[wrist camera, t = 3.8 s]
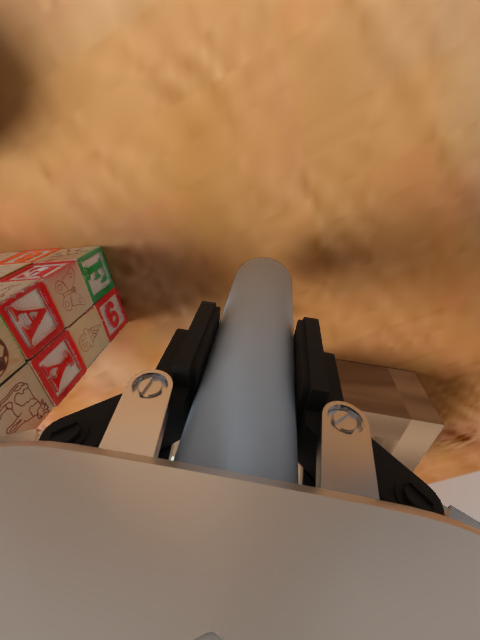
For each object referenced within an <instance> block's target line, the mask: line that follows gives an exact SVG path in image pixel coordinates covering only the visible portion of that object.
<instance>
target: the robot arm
mask: <svg viewBox="0 0 480 640" xmlns="http://www.w3.org/2000/svg"><path fill="white" fill-rule="evenodd" d="M219 320H220V307H216V303H213V302H206V301H202V302H201V304H200V307H199V309H198V311H197V313H196V315H195V317H194V319H193V321H192V323H191V326H190V328H189V330H185V329H177V330H176V332H175V334H174V336H173V337H172V339H171V341H170V343H169V345H168V347H167V349H166V351H165V352H164V354H163V356H162V358H161V360H160V362H159V364H158V366H157V368H156V369H154V370H145V371H141V372H139V373H137V374H135V375H134V376H133V377H131V378H130V380H129V381H128V383H127V385H126V387H125V390H124V392H123V393H122V394H120V395H117V396H115V397H112V398H110V399H107V400H105V401H102V402H100V403H97V404H95V405H92V406H90V407H87V408H85V409H83V410H80V411H78V412H75V413H73V414H70V415H68V416H65V417H63V418H60V419H59V420H57V421H55V422H53V423H52V424H50V425H49V426H48V427H47V428H46V429H45V430H44V431H40V432H38V431H37V428H36V429H31V430H27V431H22V432H18V433H13V434H8V435H4V436H0V640H480V523H479V522H478V521H476V520H474V519H473V518H471V517H470V516H468V515H466V514H465V513H463V512H461V511H460V510H458V509H456V508H455V507H453V506H451V505H450V506H449V507H448V508H447V507H445V506H444V505H442V503H441V501H440V499H439V498H438V496H437V495H436V493H435V492H434V491H433V490H432V489H431V488H430V487H429V486H428V485H427V484H426V483H425V482H423V481H422V480H421V479H420V478H419V477H417V476H416V475H415V474H414V473H413V472H412V471H410V470H409V469H408V468H407V467H406V466H404V465H403V464H402V463H401V462H400V461H398V460H397V459H396V458H395V457H394V456H392V455H391V454H390V453H389V452H388V451H387V450H385V449H384V448H383V447H382V446H381V445H379V444H378V443H377V442H376V441H375V440H373V439H372V438H371V434H370V427H369V423H368V420H367V418H366V417H365V415H364V414H363V413H362V412H361V411H360V410H359V409H358V408H357V407H355V406H353V405H352V404H349V403H346V402H344V399H343V394H342V389H341V384H340V379H339V374H338V370H337V365H336V360H335V356H334V354H331V353H325V352H324V351H323V345H322V339H321V333H320V326H319V320H318V319H314V318H307V317H304V318H303V320H298V322H297V326H296V330H295V334H294V365H295V397H296V418H297V449H298V463H299V464H300V465H301V469H300V479H299V484H295V483H290V482H285V481H280V480H274V479H269V478H264V477H258V476H253V475H248V474H242V473H237V472H231V471H226V470H221V469H215V468H210V467H204V466H199V465H194V464H188V463H183V462H177V461H171V458H172V454H173V449H174V443H175V442H177V441H179V440H180V439H181V436H182V433H183V430H184V427H185V424H186V421H187V418H188V415H189V412H190V409H191V406H192V403H193V400H194V397H195V395H196V393H197V390H198V387H199V384H200V381H201V378H202V375H203V372H204V369H205V366H206V363H207V360H208V357H209V354H210V351H211V348H212V345H213V342H214V339H215V336H216V333H217V330H218V327H219Z"/></svg>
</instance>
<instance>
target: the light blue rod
mask: <svg viewBox="0 0 480 640" xmlns="http://www.w3.org/2000/svg"><path fill="white" fill-rule="evenodd" d="M173 461H177V462H183V463H188V464H194V465H199V466H204V467H210V468H215V469H221V470H226V471H231V472H237V473H242V474H248V475H253V476H258V477H264V478H269V479H274V480H280V481H285V482H290V483H295V484H299V479H298V449H297V418H296V397H295V365H294V328H293V298H292V279H291V276H290V273H289V271H288V270H287V269H286V267H285V266H284V265H283V264H281V263H280V262H278V261H276V260H274V259H271V258H265V257H259V258H254V259H251V260H249V261H247V262H245V263H244V264H243V265H242V266H241V267H240V268H239V269H238V271H237V273H236V276H235V279H234V282H233V285H232V287H231V290H230V293H229V296H228V299H227V302H226V305H225V308H224V311H223V314H222V317H221V320H220V323H219V327H218V330H217V333H216V336H215V339H214V342H213V345H212V348H211V351H210V354H209V357H208V360H207V363H206V366H205V369H204V372H203V375H202V378H201V381H200V384H199V387H198V390H197V393H196V395H195V397H194V400H193V403H192V406H191V409H190V412H189V415H188V418H187V421H186V424H185V427H184V430H183V433H182V436H181V439H180V442H179V445H178V448H177V451H176V454H175V457H174V460H173Z"/></svg>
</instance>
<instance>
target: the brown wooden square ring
mask: <svg viewBox="0 0 480 640" xmlns="http://www.w3.org/2000/svg"><path fill="white" fill-rule="evenodd" d="M335 360H336V365H337V370H338V374H339V379H340V384H341V389H342V394H343V399H344V402H346V403H349V404H352V405H353V406H355V407H357V408H358V409H359V410H360V411H361V412H362V413H363V414H364V415H365V417H366V418H367V420H368V423H369V427H370V434H371V438H372V439H373V440H375V441H376V442H377V443H378V444H379V445H381V446H382V447H383V448H384V449H385V450H387V451H388V452H389V453H390V454H391V455H392V456H394V457H395V458H396V459H397V460H398V461H400V462H401V463H402V464H403V465H404V466H406V467H407V468H408V469H409V470H410V471H412V472H413V471H414V469H415V468H416V466H417V465H418V464H419V462H420V461H421V459H422V458H423V456H424V455H425V453H426V452H427V450H428V449H429V448H430V446H431V445H432V443H433V442H434V440H435V439H436V437H437V436H438V434H439V433H440V432H441V430H442V429H443V427H444V426H445V425H444V423H443V421H442V419H441V418H440V416H439V414H438V412H437V411H436V409H435V407H434V405H433V404H432V402H431V400H430V398H429V397H428V395H427V393H426V391H425V390H424V388H423V386H422V384H421V383H420V381H419V379H418V377H417V376H416V374H415V372H411V371H405V370H399V369H393V368H387V367H380V366H374V365H368V364H362V363H356V362H350V361H343V360H337V359H335ZM300 469H301V465H300V464H299V463H298V479H300Z"/></svg>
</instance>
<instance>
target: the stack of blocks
mask: <svg viewBox="0 0 480 640" xmlns="http://www.w3.org/2000/svg"><path fill="white" fill-rule="evenodd" d="M126 323H127V318H126V315H125V312H124V309H123V307H122V304H121V301H120V298H119V295H118V293H117V290H116V288H115V286H114V283H113V280H112V277H111V275H110V272H109V269H108V266H107V263H106V260H105V257H104V255H103V251H102V248H101V246H91V247H79V248H68V249H61V248H55V249H44V250H33V251H24V252H9V253H0V436H4V435H8V434H13V433H18V432H22V431H27V430H31V429H36V428H37V427H38V426H39V425H40V423H41V422H42V421H43V420H44V419H45V417H46V416H47V415H48V414H49V413H50V411H51V410H52V408H53V407H56V406H58V405H59V404H60V403H61V401H62V400H63V399H64V398H65V397H66V396H67V394H68V393H69V392H70V391H71V390H72V388H73V387H74V386H75V385H76V383H77V382H78V381H79V380H80V379H81V377H82V376H83V375H84V374H85V372H86V370H87V368H89V366H90V365H91V364H92V363H93V362H94V360H95V359H96V358H97V357H98V355H99V354H100V353H101V352H102V351H103V350H104V348H105V347H106V346H107V345H108V343H110V342H111V341H112V340H113V339H114V337H115V336H116V335H117V334H118V332H119V331H120V330H121V329H122V328H123V327H124V326H125V324H126Z"/></svg>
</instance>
